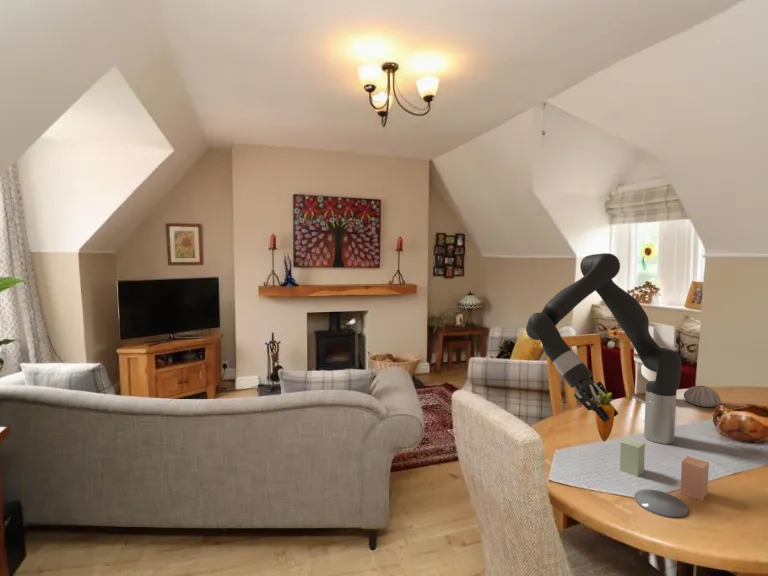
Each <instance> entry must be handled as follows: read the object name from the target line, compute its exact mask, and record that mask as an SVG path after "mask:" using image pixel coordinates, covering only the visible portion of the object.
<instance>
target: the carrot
mask: <svg viewBox="0 0 768 576" xmlns="http://www.w3.org/2000/svg"><path fill="white" fill-rule="evenodd" d="M598 393H599V395H600V398H601V400H602V402H601V403H599V404H600V406H601V407H602V408H603V409H604V411H605V412H606V413H607V414H608V416H609V417H610V419H609V420H607V421H606V422H603V421H602V420H601V418H600V417H599V416H598V415H597V413H596V412H595V421H596V428H597V431H598V433H599V434H598V435H599V437H600V439H601V441H602V442H607V440H608V439H609V437H610V435H611V433H612V431H613V428H614V422H615V417H614V408H615V407H614V405H613V404H612V403H611V402H613V399H610V397H611V398H612V395H613V393H612V392H608V393H606V395H605V394H603V395H602V394H601V392H600V391H599V392H598ZM609 399H610V400H609ZM609 402H610V403H611V404H609Z"/></svg>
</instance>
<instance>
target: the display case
mask: <svg viewBox="0 0 768 576" xmlns="http://www.w3.org/2000/svg"><path fill="white" fill-rule="evenodd" d="M649 333H650V335H651V337H652V338H653V340H654V341H655V342H656V344H657V345H658V346H660V347H662V348H666V349H670V350H673V351H675V352H676V345H677V344H676V342H677V339H676V338H677V326H675V325H674V326H673V325H670V324H665V323H659V322H649ZM633 351H634V353H633V360H634V361H635V384H634V387H635V388H634V393H632V399H634V400H637V401H639V403H643V404H644V405H645V401H646V384H647V382H649V381H655V380H656V373H657V372H654V371H651V370H649V369H647V368H646V367H645V366H644V364H643V363H642V361H641V359H640V357H639V355H638V353H637V351H636V349H635V348H634V349H633Z"/></svg>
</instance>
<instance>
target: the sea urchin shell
mask: <svg viewBox="0 0 768 576" xmlns="http://www.w3.org/2000/svg"><path fill="white" fill-rule="evenodd" d="M683 398H684V400H685V401H686V402H688V403H689V404H691V405H695V406H698V407H702V408H703V407H704V408H706V407H707V408H711V407H713V408H714V407H717V406H719V405H720V404H721V402H722V399H721V397H720V395H719V394H718V393H717V391H715V390H714V389H713V388H711V387H708V386H706V385H694V386H691V387H689V388H688V389H686V390H685V391H684V393H683Z"/></svg>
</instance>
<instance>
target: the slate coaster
mask: <svg viewBox="0 0 768 576" xmlns="http://www.w3.org/2000/svg"><path fill="white" fill-rule="evenodd" d="M634 500H635V502H636V504H638V505H639V507H641V508H643V509H644V510H646V511H647V512H650V513H652V514H654V515H658V516H660V517H666V518H672V519H673V518H674V519H675V518H684V517H685V516H688V514H689V507H688V505H687V504H686V503H685V502H684V501H683V500H682V499H680V498H678V497H677V496H675V495H673V494H670V493H668V492H664V491H661V490H656V489H640V490H638V491H636V492H635V493H634Z"/></svg>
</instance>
